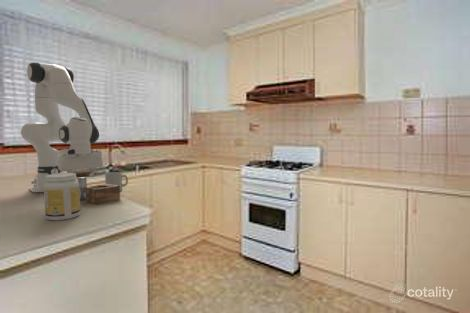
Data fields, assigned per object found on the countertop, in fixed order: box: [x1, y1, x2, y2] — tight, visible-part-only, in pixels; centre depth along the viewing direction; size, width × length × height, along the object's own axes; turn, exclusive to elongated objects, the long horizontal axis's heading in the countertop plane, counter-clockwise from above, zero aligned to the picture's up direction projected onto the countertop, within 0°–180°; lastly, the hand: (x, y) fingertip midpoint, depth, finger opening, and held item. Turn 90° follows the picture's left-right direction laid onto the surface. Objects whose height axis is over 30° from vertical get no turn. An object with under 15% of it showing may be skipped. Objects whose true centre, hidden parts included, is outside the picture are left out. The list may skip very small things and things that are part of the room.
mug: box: [104, 171, 129, 193], centre depth 163 cm, size 12×8×11 cm
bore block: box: [85, 183, 121, 205], centre depth 142 cm, size 10×12×7 cm
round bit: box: [76, 176, 88, 202], centre depth 144 cm, size 4×4×11 cm
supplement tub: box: [43, 172, 81, 221], centre depth 115 cm, size 12×12×17 cm
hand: (82, 178), depth 143 cm, fingers open, 8 cm apart
